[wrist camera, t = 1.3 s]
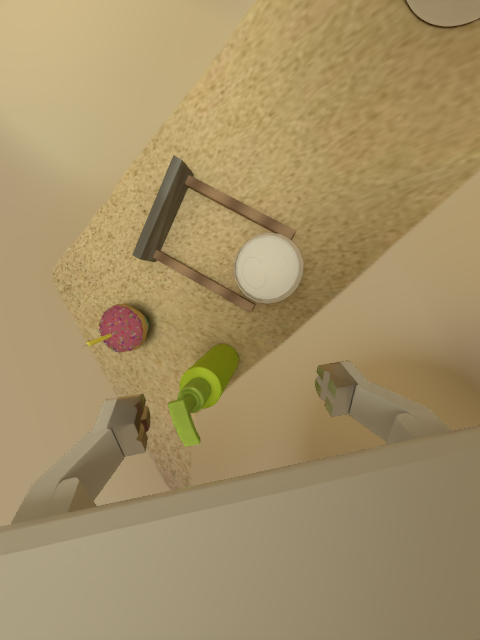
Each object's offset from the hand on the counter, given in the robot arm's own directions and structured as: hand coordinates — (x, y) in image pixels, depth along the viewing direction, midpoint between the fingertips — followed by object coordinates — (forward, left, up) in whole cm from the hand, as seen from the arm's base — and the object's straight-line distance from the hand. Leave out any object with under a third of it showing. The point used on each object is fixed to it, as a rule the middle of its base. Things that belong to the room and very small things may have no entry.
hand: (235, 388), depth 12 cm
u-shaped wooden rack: (-10, -11, -32) cm, 36 cm away
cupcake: (+7, -25, -33) cm, 42 cm away
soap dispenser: (+11, -7, -33) cm, 35 cm away
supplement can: (-7, -1, -33) cm, 33 cm away
